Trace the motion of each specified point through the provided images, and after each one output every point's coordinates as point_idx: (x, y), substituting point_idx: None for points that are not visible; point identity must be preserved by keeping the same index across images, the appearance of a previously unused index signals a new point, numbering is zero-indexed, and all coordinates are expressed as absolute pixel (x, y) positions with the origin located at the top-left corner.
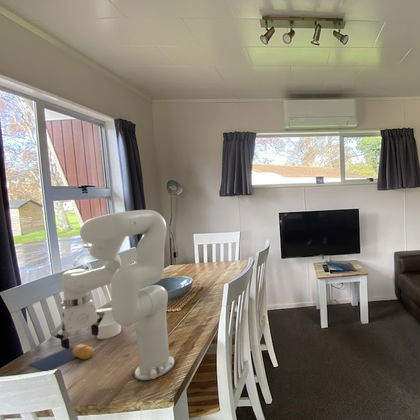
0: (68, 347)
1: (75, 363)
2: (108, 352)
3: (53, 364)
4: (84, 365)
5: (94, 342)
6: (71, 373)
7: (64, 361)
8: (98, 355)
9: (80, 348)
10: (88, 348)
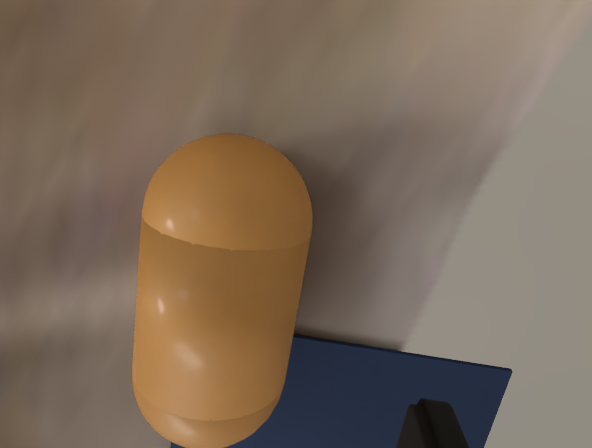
0: (439, 409)
1: (346, 233)
2: (73, 41)
3: (402, 425)
4: (362, 75)
5: (11, 418)
6: (518, 70)
7: (345, 375)
8: (161, 114)
9: (248, 320)
10: (210, 199)
